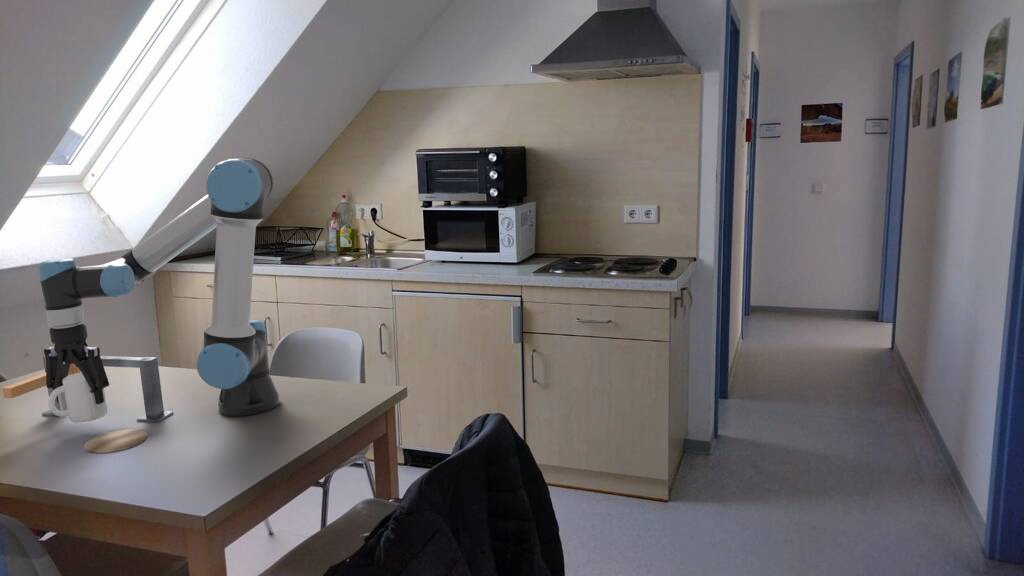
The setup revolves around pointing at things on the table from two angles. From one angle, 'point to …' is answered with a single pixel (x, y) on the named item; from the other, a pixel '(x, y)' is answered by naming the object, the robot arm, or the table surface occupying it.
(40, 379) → the orange bar
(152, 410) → the rail frame
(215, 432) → the table surface
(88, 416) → the mug
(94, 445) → the coaster
